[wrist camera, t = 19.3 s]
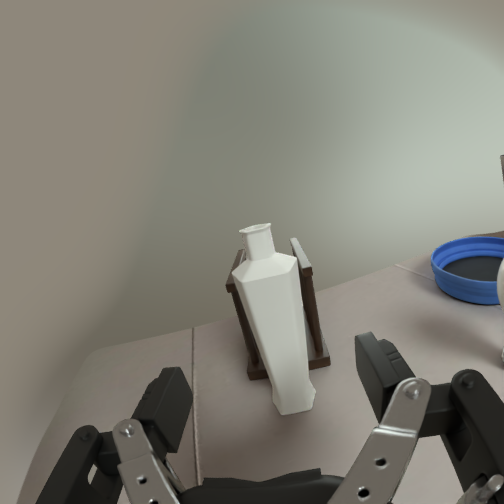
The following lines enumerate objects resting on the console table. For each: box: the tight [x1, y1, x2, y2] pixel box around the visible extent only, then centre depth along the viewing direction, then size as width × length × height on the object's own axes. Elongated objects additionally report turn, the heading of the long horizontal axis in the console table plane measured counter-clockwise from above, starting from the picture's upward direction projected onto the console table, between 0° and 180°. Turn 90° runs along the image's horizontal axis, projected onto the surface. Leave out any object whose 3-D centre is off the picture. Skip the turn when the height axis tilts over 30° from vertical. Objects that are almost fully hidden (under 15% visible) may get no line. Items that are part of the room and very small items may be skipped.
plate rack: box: [226, 238, 331, 380], centre depth 30 cm, size 12×8×10 cm, turn 177°
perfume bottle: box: [232, 223, 316, 415], centre depth 20 cm, size 5×4×15 cm
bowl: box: [431, 237, 504, 304], centre depth 28 cm, size 18×18×4 cm
